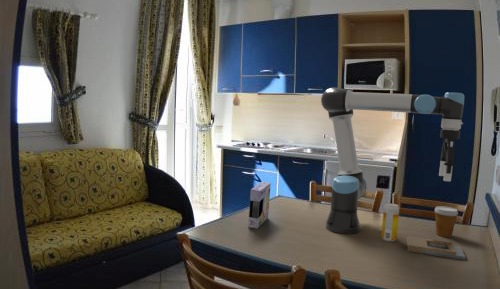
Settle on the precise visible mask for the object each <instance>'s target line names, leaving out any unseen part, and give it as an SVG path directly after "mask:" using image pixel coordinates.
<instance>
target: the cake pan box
mask: <svg viewBox="0 0 500 289" xmlns="http://www.w3.org/2000/svg"><path fill="white" fill-rule="evenodd" d="M271 183H272V182H271ZM271 183H270V182H268V181H267V182H266V181H261V182H260V183H259V184H256V185H255V186H254V187H252V188H251V189H250V193H249V194H250V196H249V208H248V210H249V211H248V225H247V226H248V228H251V229H256V230H257V229H259V227H260V226H262V225H263V224H264V222H265V221H267V219H268V218H269V210H270V207H269V206H270V197H271V196H270V195H271V185H272V184H271Z"/></svg>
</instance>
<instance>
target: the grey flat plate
mask: <svg viewBox="0 0 500 289" xmlns="http://www.w3.org/2000/svg"><path fill="white" fill-rule="evenodd" d="M427 245H428V246H429V247H435V248H442V249H448V248H447V246H441V245H435V244H428V243H427ZM453 246H454V249H455V251H456V255H450V254H443V253H437V252H431V251H424V250H422V253H421V254H425V255H431V256H438V257H443V258H451V259H456V260H457V259H458V260H463V261H466V255H465V253H464V250H463V249H462V247H461V246H456V245H453Z"/></svg>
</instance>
